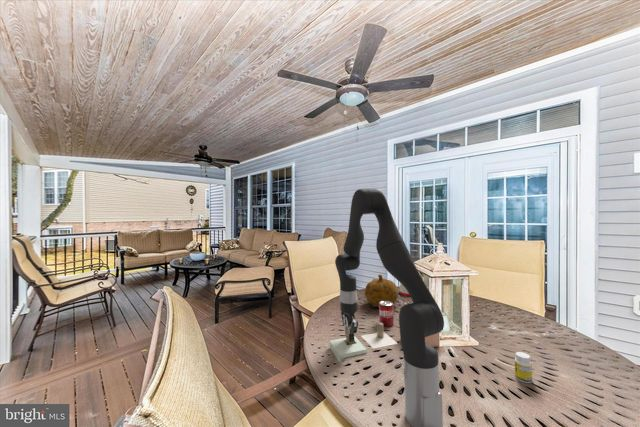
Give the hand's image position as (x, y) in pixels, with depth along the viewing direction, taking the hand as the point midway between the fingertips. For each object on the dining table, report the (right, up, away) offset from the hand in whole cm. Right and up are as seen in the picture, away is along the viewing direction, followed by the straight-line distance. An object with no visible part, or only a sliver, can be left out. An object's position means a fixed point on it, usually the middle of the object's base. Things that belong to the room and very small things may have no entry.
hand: (349, 339), depth 113 cm
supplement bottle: (+57, -3, -23) cm, 62 cm away
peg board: (-1, -4, -2) cm, 5 cm away
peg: (0, -3, 0) cm, 3 cm away
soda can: (+21, -4, +20) cm, 29 cm away
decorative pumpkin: (+26, -3, +50) cm, 56 cm away
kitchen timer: (+51, -2, +71) cm, 87 cm away
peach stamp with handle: (+31, -3, +1) cm, 31 cm away
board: (+14, -4, +4) cm, 15 cm away
